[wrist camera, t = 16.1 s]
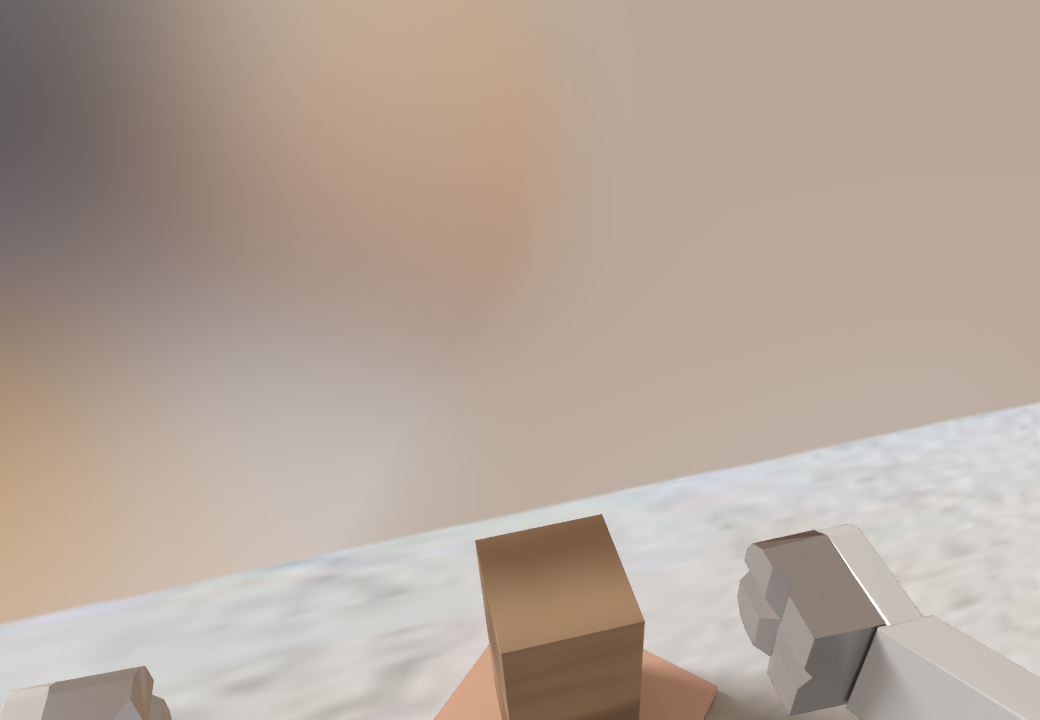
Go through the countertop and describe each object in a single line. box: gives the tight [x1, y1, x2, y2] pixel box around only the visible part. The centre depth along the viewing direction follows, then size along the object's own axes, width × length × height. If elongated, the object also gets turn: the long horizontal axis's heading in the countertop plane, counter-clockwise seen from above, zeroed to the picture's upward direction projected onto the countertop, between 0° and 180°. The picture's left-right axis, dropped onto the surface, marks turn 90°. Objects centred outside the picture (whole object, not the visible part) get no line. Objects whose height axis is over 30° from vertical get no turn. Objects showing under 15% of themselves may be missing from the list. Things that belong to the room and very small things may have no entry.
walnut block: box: [475, 514, 645, 720], centre depth 33 cm, size 5×5×10 cm
